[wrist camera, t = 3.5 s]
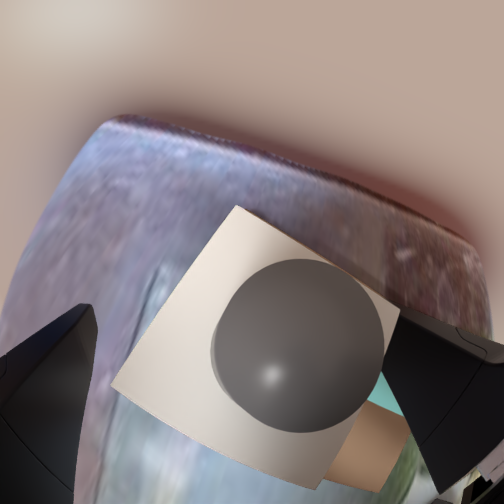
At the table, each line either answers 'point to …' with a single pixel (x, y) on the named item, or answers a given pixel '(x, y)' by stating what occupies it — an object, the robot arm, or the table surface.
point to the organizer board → (369, 433)
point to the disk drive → (440, 502)
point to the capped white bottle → (262, 352)
